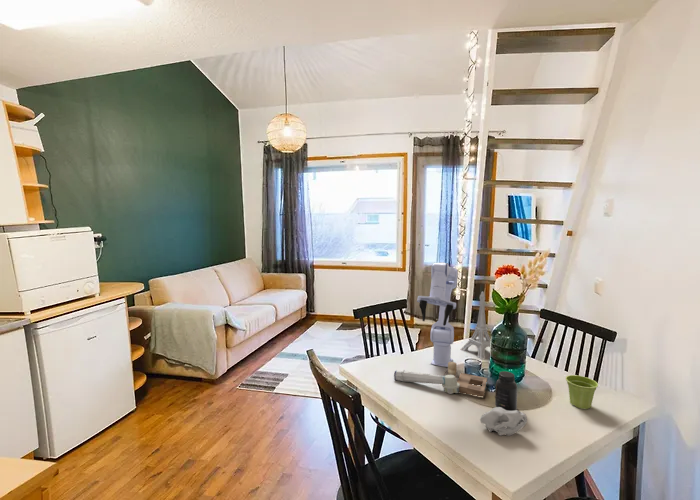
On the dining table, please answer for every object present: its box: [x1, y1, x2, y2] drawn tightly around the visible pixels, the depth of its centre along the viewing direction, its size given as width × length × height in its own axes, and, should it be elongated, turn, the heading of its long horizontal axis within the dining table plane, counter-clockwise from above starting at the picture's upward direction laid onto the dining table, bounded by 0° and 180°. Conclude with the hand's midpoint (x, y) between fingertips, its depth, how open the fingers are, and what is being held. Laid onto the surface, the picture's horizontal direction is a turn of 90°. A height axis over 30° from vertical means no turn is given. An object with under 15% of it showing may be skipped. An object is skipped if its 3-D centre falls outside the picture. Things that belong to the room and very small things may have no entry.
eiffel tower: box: [460, 291, 491, 360], centre depth 167 cm, size 13×13×30 cm
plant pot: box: [565, 374, 599, 410], centre depth 120 cm, size 9×9×9 cm
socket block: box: [456, 372, 488, 398], centre depth 132 cm, size 12×10×2 cm
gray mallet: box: [393, 369, 460, 395], centre depth 134 cm, size 5×7×25 cm
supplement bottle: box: [494, 370, 518, 411], centre depth 118 cm, size 7×7×12 cm
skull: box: [479, 406, 528, 437], centre depth 105 cm, size 8×9×12 cm
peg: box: [447, 361, 457, 378], centre depth 138 cm, size 3×3×7 cm
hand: (434, 322), depth 128 cm, fingers open, 7 cm apart
